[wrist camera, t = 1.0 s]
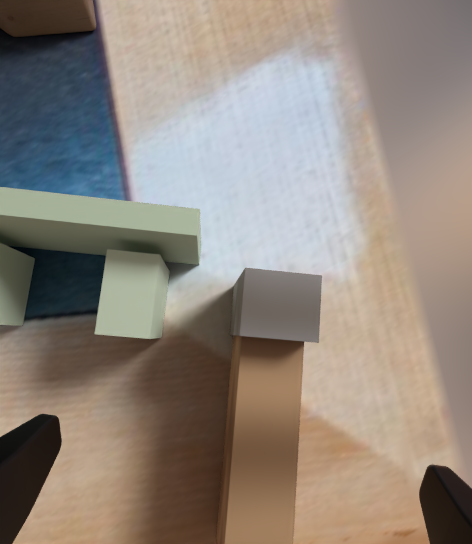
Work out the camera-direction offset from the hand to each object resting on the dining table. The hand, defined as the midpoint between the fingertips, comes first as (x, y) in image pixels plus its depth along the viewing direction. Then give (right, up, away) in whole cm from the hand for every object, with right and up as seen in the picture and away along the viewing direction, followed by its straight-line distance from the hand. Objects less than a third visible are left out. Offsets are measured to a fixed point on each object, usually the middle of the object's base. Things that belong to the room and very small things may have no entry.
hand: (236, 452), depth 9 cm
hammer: (+1, -4, +13) cm, 13 cm away
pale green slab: (-9, +3, +13) cm, 16 cm away
